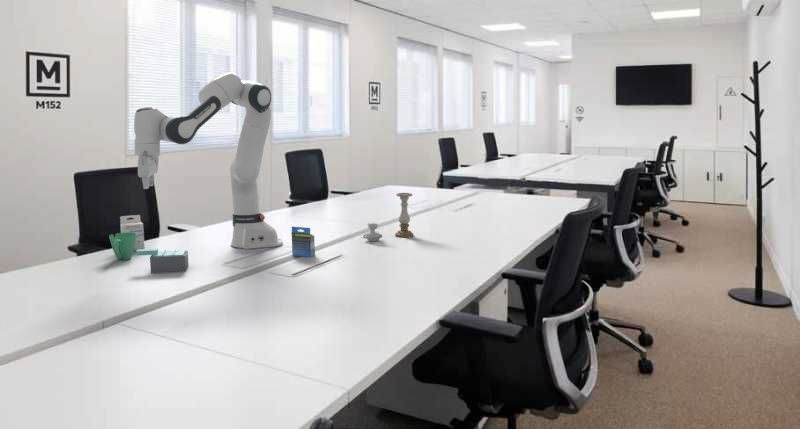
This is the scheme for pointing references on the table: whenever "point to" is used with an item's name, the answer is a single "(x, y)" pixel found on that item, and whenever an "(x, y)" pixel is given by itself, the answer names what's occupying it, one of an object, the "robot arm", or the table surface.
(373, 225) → the grey oil lamp
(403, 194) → the candle holder
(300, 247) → the label tape box
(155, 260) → the tub
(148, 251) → the lid
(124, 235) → the mug
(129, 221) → the ink box
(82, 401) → the table surface
